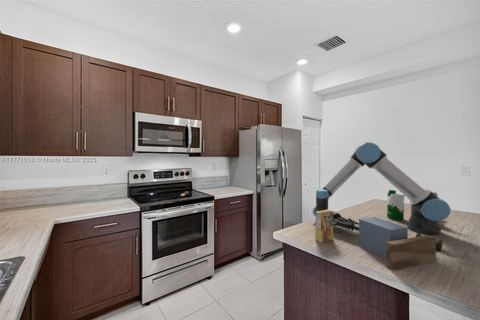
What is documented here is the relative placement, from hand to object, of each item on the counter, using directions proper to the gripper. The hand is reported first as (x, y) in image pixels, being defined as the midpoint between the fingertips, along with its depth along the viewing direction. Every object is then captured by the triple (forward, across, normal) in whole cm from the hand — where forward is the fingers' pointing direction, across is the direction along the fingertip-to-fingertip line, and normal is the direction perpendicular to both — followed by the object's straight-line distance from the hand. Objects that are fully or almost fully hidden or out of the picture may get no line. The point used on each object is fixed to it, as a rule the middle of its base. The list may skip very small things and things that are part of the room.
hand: (365, 231), depth 106 cm
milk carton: (-26, -56, -7) cm, 62 cm away
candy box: (-10, +17, -7) cm, 21 cm away
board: (+21, -1, -6) cm, 22 cm away
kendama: (+14, -22, -7) cm, 27 cm away
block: (+8, 0, -6) cm, 10 cm away
